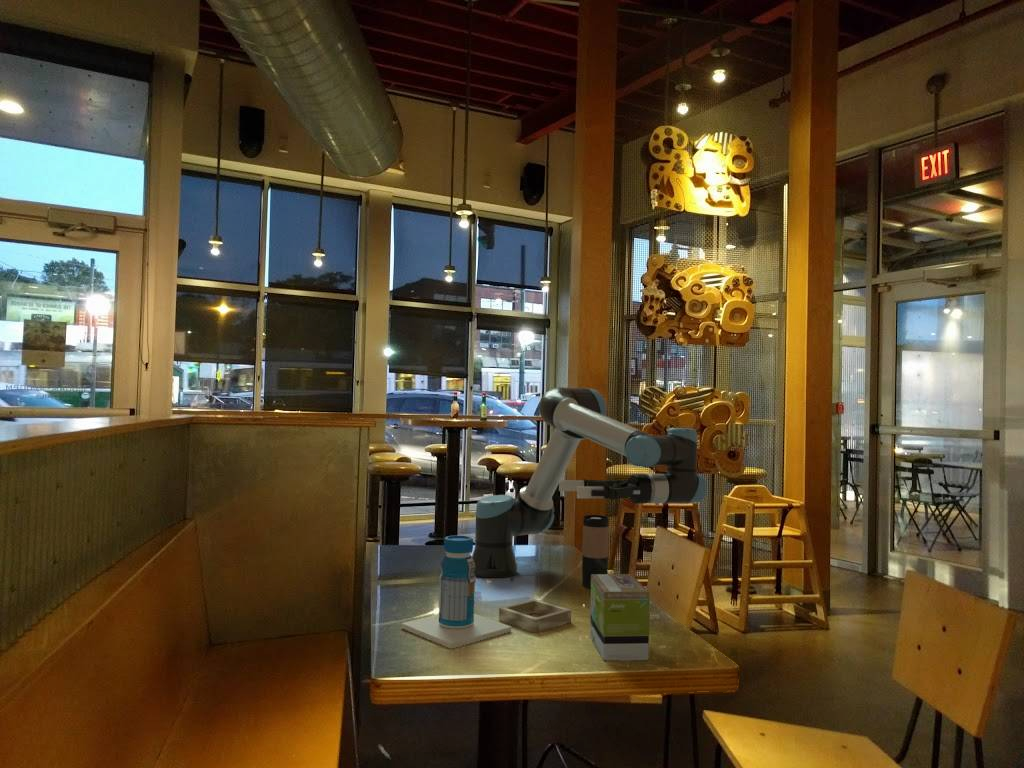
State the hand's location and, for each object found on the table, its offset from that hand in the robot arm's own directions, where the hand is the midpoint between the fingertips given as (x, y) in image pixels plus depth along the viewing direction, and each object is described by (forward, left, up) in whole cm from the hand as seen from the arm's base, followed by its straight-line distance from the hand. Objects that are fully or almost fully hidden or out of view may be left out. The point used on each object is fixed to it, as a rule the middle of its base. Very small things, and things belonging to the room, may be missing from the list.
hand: (568, 488), depth 176 cm
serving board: (-10, -26, -32) cm, 43 cm away
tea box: (+22, -7, -32) cm, 40 cm away
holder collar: (-3, -7, -32) cm, 33 cm away
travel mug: (-16, +32, -32) cm, 48 cm away
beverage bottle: (-11, -26, -31) cm, 42 cm away
